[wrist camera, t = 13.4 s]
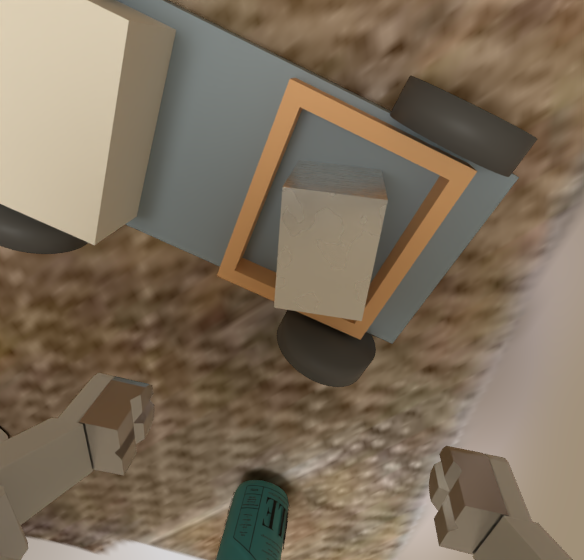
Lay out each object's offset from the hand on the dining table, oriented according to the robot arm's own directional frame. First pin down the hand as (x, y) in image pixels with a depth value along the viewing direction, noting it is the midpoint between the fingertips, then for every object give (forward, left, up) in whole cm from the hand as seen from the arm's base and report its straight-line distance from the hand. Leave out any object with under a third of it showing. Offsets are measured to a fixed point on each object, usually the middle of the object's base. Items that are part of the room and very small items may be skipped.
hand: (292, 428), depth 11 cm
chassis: (0, +7, -19) cm, 20 cm away
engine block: (0, 0, -17) cm, 17 cm away
